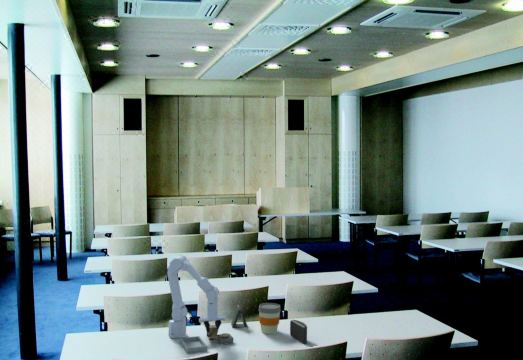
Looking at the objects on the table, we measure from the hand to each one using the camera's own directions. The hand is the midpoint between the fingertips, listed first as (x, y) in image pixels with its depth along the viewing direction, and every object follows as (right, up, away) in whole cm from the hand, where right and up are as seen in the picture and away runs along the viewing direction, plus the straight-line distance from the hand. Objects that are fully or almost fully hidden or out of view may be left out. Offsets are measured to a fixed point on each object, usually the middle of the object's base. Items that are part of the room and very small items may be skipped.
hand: (212, 334), depth 327 cm
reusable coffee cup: (+32, -2, +13) cm, 34 cm away
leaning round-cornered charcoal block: (+47, -3, -1) cm, 47 cm away
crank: (+4, 0, -7) cm, 8 cm away
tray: (-9, -3, -14) cm, 17 cm away
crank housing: (+6, -2, -2) cm, 7 cm away
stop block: (0, -2, 0) cm, 2 cm away
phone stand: (+14, -1, +22) cm, 27 cm away
